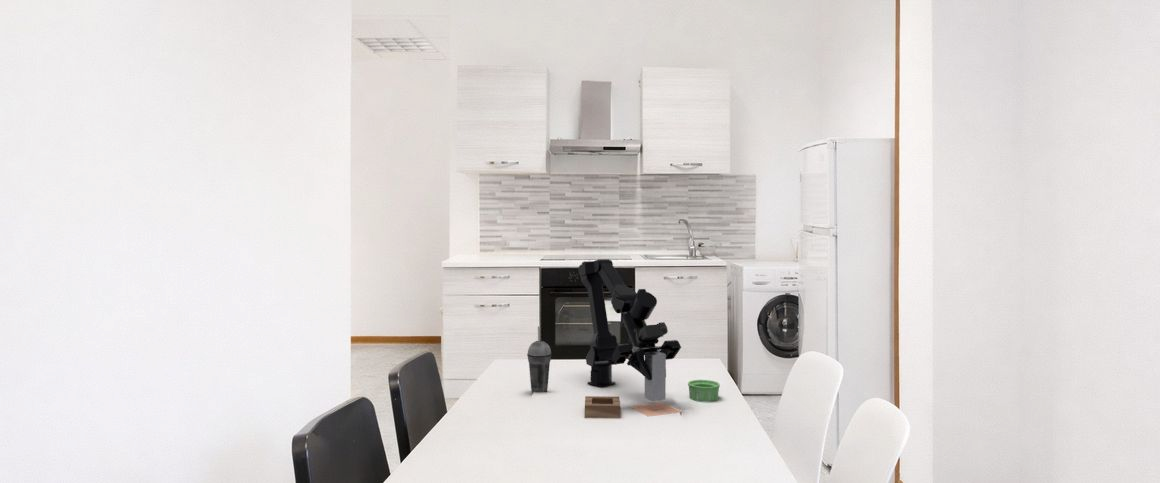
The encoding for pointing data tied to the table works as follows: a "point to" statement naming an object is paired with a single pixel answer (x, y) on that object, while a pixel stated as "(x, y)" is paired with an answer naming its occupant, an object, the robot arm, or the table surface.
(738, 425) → the table surface
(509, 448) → the table surface
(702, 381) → the ramekin
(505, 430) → the table surface
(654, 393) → the peg
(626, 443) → the table surface
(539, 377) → the beverage cup
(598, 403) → the socket block
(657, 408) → the mat
